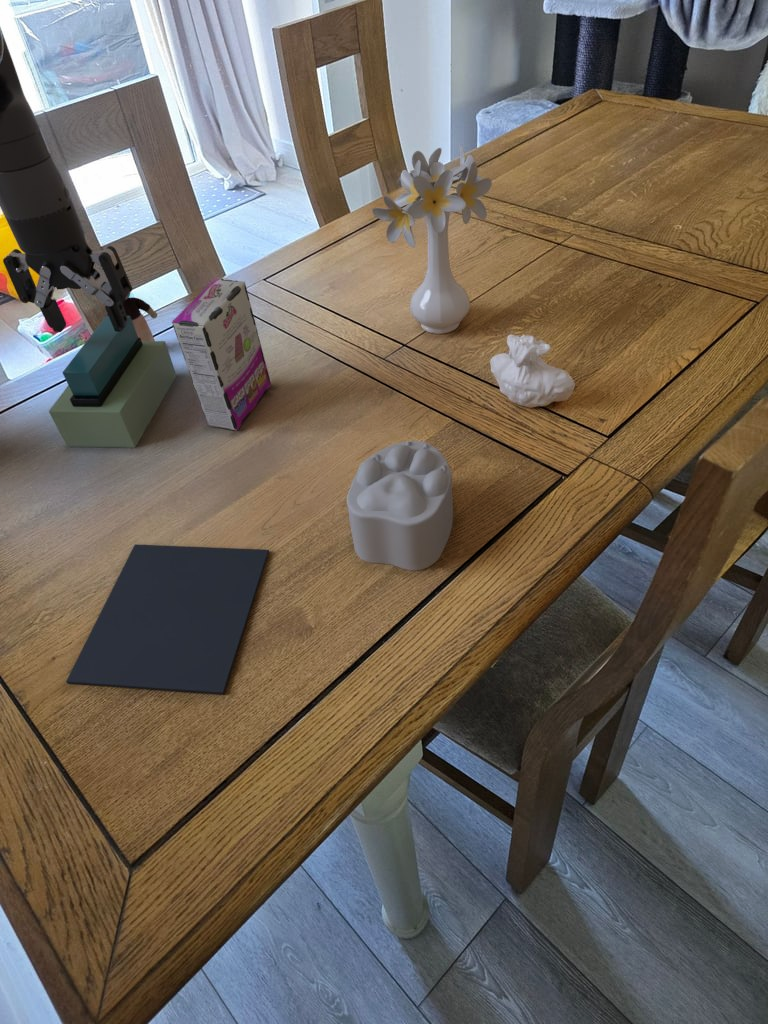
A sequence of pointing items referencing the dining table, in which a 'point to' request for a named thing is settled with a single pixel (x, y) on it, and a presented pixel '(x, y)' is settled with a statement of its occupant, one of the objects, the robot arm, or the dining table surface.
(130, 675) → the mat
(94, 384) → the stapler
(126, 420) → the stand
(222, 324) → the candy bar box
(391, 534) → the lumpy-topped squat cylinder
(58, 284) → the robot arm
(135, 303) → the grandmother figurine
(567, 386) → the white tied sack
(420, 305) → the flower vase
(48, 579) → the dining table surface
